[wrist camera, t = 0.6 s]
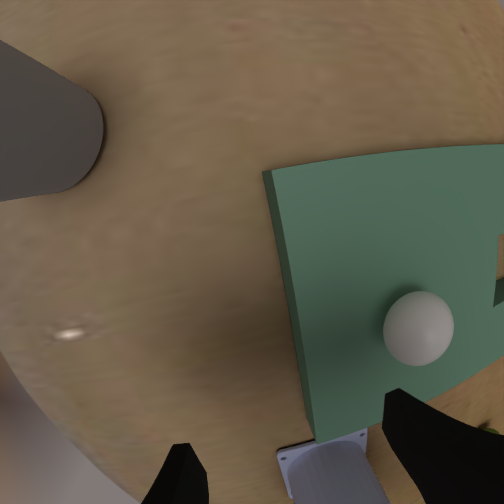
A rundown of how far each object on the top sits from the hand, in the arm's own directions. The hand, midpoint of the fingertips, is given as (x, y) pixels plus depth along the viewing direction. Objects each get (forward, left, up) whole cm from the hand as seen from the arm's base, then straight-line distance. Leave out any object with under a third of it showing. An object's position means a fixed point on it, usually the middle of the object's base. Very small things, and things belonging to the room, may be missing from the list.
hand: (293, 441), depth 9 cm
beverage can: (+14, +9, -10) cm, 19 cm away
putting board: (0, -14, -9) cm, 17 cm away
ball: (0, -8, -4) cm, 9 cm away
